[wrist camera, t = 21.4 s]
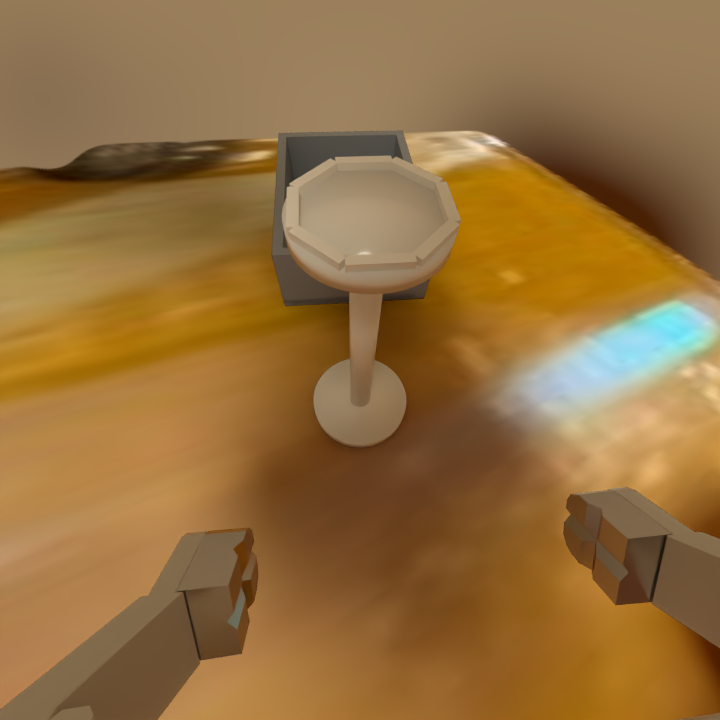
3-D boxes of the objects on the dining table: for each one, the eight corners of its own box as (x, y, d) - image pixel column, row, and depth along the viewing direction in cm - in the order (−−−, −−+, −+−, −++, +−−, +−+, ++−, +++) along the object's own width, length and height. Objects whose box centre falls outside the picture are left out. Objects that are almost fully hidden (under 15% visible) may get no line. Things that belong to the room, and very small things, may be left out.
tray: (284, 306, 30) (271, 255, 25) (288, 188, 39) (278, 133, 34) (423, 298, 31) (438, 247, 26) (395, 184, 40) (402, 130, 35)
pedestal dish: (315, 451, 24) (257, 287, 9) (313, 366, 27) (269, 148, 13) (411, 443, 24) (505, 274, 9) (397, 361, 28) (450, 143, 13)
